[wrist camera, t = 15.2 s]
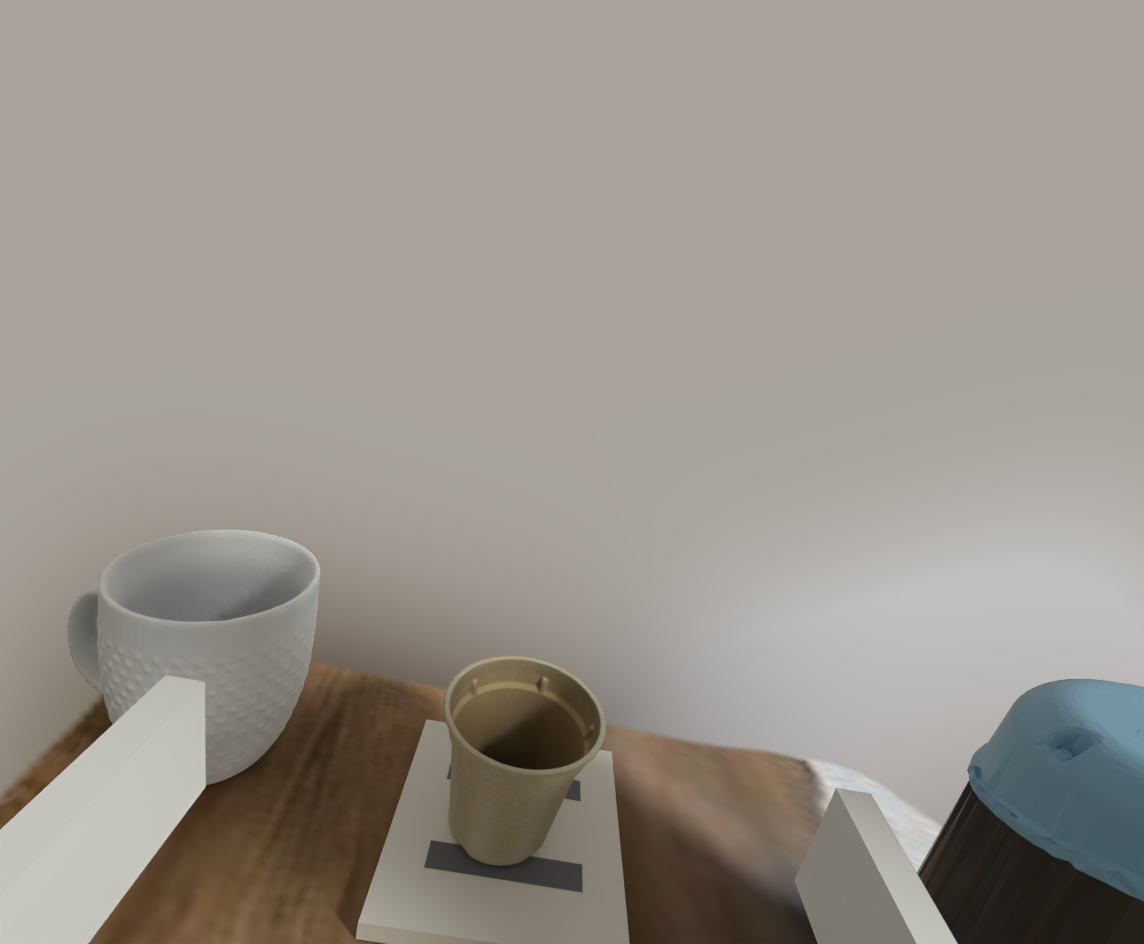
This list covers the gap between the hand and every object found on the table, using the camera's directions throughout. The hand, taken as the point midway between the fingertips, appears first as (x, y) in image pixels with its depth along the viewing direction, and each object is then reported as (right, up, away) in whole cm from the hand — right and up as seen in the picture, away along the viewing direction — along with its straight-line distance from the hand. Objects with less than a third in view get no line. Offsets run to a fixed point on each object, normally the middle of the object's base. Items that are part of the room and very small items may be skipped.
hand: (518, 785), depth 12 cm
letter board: (-3, -16, +24) cm, 29 cm away
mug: (-24, -11, +25) cm, 36 cm away
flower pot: (-3, -15, +23) cm, 28 cm away
